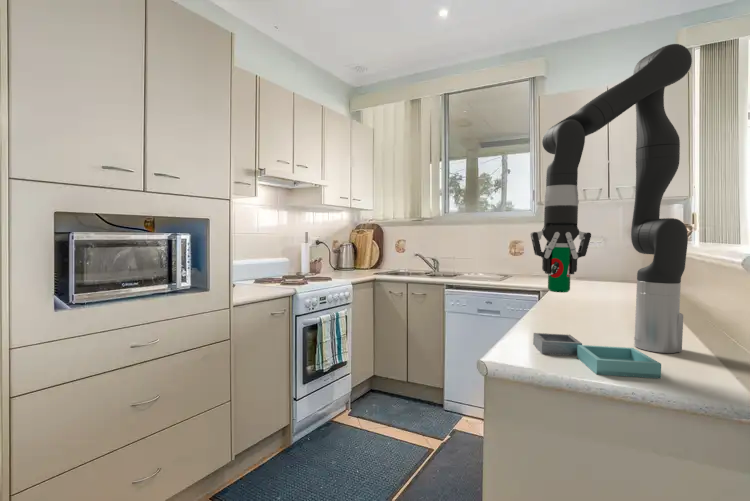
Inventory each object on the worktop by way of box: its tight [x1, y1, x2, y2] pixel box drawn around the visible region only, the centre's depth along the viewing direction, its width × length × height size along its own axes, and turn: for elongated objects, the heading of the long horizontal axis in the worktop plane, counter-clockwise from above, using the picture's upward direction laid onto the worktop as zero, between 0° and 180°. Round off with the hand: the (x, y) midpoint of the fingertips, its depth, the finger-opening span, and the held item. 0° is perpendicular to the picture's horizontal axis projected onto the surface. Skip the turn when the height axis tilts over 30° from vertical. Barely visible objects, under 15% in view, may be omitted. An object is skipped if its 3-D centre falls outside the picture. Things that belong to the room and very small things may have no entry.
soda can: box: [547, 243, 572, 294], centre depth 102 cm, size 5×5×12 cm
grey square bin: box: [532, 332, 583, 357], centre depth 102 cm, size 9×9×3 cm
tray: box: [576, 344, 662, 379], centre depth 89 cm, size 12×12×3 cm
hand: (559, 273), depth 102 cm, fingers closed on soda can, 5 cm apart
